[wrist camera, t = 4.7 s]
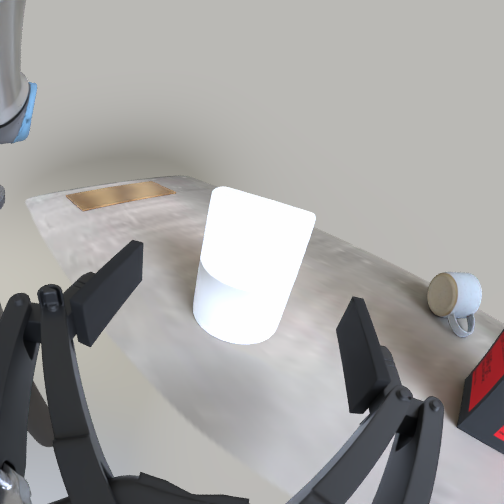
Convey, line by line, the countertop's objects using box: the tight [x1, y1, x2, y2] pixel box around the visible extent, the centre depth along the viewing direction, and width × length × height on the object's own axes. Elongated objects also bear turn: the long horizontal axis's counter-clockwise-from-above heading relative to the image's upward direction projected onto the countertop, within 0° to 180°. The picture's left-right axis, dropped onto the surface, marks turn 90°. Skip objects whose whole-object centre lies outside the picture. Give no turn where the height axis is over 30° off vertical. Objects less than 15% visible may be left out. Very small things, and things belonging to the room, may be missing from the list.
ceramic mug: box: [427, 272, 482, 337], centre depth 35 cm, size 11×8×8 cm
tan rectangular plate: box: [66, 181, 176, 211], centre depth 52 cm, size 22×9×1 cm, turn 146°
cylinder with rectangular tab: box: [193, 186, 316, 344], centre depth 26 cm, size 9×9×12 cm
